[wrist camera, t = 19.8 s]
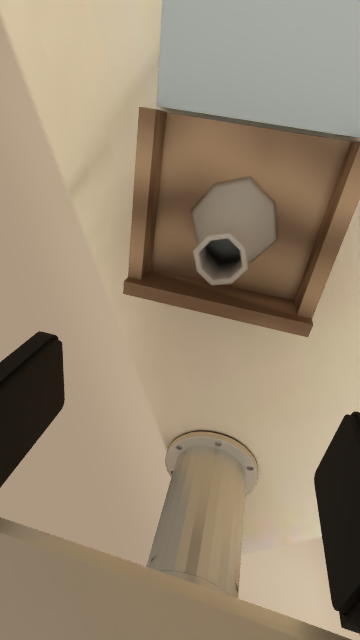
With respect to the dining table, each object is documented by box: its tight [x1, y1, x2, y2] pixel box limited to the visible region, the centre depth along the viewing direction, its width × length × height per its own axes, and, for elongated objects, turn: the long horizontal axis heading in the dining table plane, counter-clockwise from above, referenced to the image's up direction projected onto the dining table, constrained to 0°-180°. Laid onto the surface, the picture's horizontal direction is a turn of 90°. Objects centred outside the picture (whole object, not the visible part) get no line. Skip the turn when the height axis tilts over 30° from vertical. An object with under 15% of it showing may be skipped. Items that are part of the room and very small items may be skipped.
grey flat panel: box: [157, 0, 360, 138], centre depth 23 cm, size 2×15×7 cm
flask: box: [191, 176, 278, 285], centre depth 24 cm, size 7×7×10 cm
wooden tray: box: [123, 107, 360, 337], centre depth 27 cm, size 14×16×6 cm
